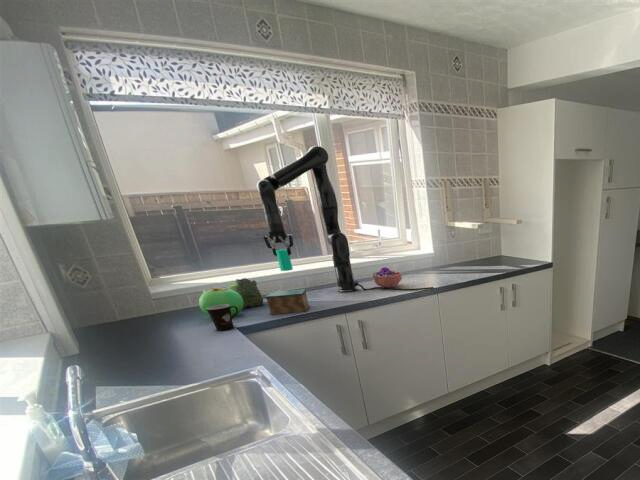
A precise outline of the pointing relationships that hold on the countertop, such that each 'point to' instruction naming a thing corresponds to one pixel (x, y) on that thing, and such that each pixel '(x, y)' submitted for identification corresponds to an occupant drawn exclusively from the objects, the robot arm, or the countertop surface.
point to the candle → (284, 260)
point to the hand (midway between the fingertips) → (283, 255)
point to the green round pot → (221, 299)
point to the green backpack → (249, 292)
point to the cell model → (387, 278)
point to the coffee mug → (222, 316)
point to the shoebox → (287, 301)
